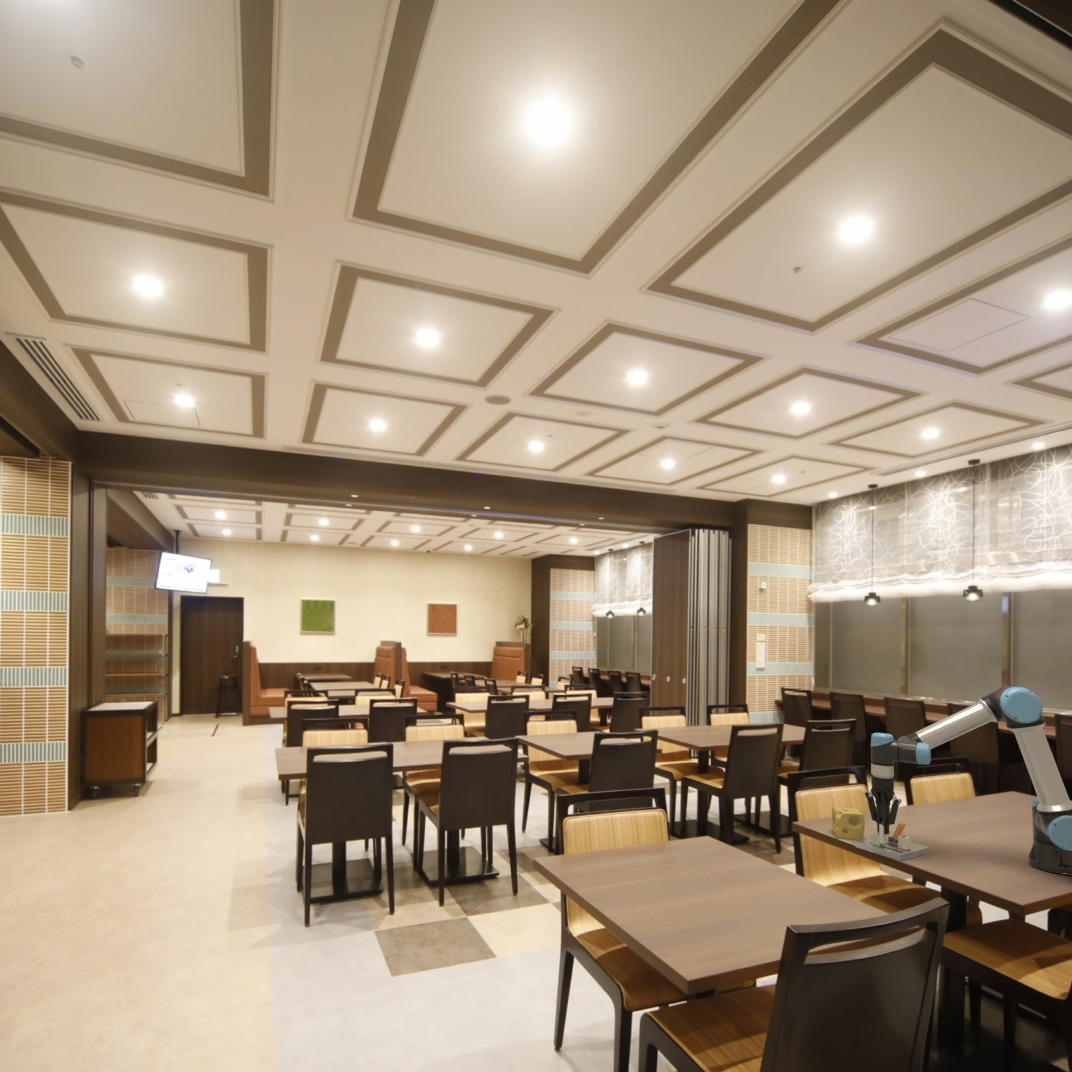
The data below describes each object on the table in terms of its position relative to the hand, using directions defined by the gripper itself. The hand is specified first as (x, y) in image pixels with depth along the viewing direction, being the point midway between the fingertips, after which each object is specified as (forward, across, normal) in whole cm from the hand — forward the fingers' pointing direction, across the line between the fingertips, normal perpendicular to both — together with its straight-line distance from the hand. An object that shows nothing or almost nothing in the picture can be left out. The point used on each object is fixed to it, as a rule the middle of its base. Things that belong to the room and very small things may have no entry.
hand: (883, 842), depth 255 cm
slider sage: (+1, +2, 0) cm, 3 cm away
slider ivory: (+1, -5, -5) cm, 7 cm away
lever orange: (+1, +2, -11) cm, 11 cm away
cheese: (+4, +18, -7) cm, 20 cm away
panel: (+3, 0, -6) cm, 7 cm away
